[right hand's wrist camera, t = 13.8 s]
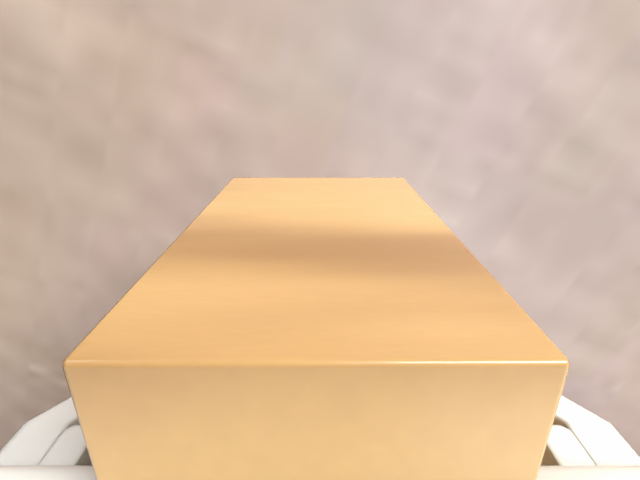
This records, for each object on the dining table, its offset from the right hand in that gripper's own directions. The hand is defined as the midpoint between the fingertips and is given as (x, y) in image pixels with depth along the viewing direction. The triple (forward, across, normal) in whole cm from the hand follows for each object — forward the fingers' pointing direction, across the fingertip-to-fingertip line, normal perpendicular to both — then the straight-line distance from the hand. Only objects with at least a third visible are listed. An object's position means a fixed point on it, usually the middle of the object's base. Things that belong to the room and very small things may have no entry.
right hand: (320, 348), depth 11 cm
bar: (+4, 0, -10) cm, 11 cm away
